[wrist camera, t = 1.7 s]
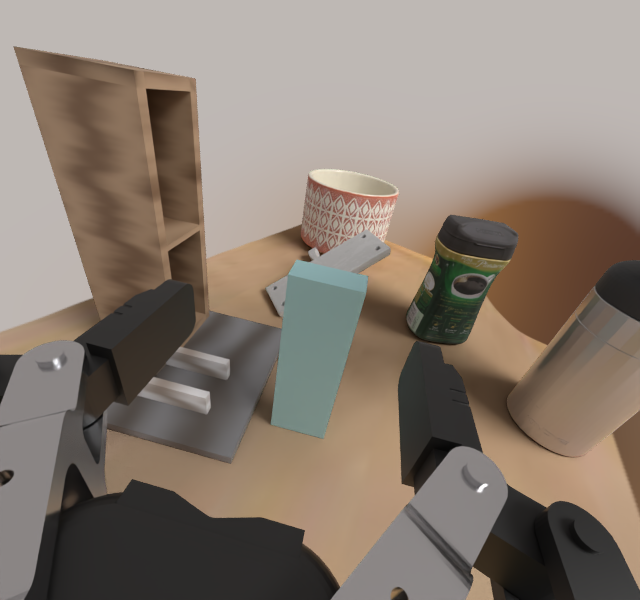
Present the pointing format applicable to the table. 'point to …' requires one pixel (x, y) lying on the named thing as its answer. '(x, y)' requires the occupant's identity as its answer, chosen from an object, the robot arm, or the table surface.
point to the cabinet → (148, 237)
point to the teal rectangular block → (315, 344)
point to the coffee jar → (459, 278)
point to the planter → (345, 207)
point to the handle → (338, 261)
